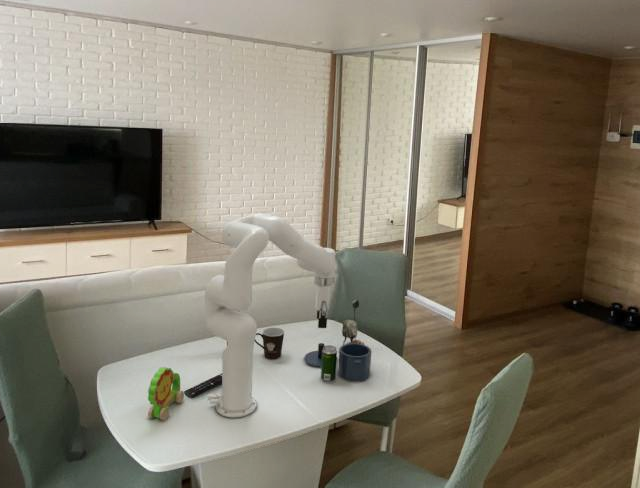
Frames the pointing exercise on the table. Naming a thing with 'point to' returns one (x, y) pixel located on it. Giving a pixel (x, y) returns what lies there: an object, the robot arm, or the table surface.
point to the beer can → (328, 363)
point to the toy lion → (164, 392)
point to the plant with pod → (351, 327)
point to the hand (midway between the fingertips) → (321, 323)
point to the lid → (315, 356)
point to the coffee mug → (272, 342)
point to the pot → (354, 362)
